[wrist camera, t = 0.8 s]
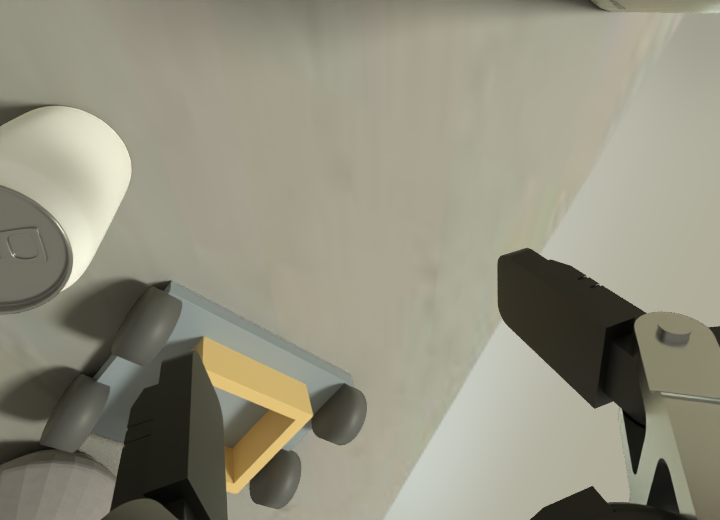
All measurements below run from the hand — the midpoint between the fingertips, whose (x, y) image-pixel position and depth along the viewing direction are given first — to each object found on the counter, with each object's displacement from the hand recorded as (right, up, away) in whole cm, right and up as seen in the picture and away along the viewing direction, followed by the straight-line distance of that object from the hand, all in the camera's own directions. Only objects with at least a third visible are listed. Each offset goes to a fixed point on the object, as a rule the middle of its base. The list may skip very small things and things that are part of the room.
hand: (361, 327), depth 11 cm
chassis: (-12, -9, +26) cm, 30 cm away
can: (-17, +8, +15) cm, 24 cm away
